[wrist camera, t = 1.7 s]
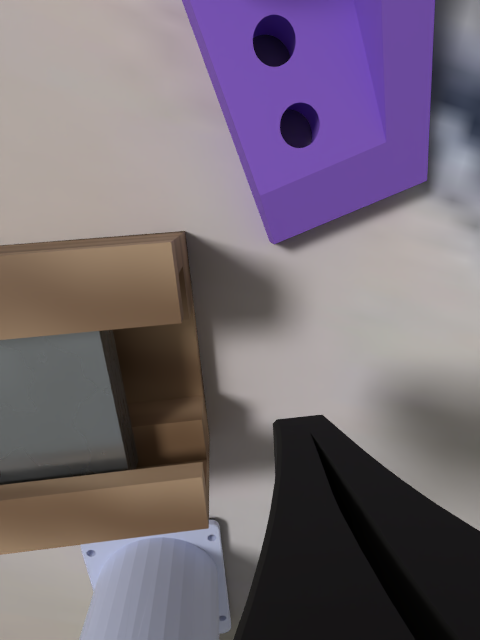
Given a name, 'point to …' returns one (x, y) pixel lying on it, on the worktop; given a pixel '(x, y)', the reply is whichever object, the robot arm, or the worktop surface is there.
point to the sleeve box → (138, 378)
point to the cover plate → (63, 408)
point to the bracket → (322, 100)
